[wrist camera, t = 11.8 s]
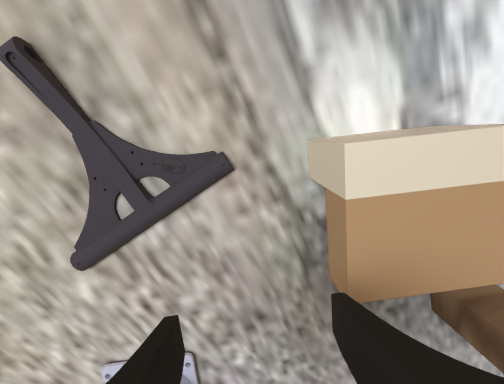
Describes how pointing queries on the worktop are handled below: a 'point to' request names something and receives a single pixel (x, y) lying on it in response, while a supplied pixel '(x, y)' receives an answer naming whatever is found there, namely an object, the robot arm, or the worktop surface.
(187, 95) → the worktop surface
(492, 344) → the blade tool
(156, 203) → the bracket
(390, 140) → the tan block
